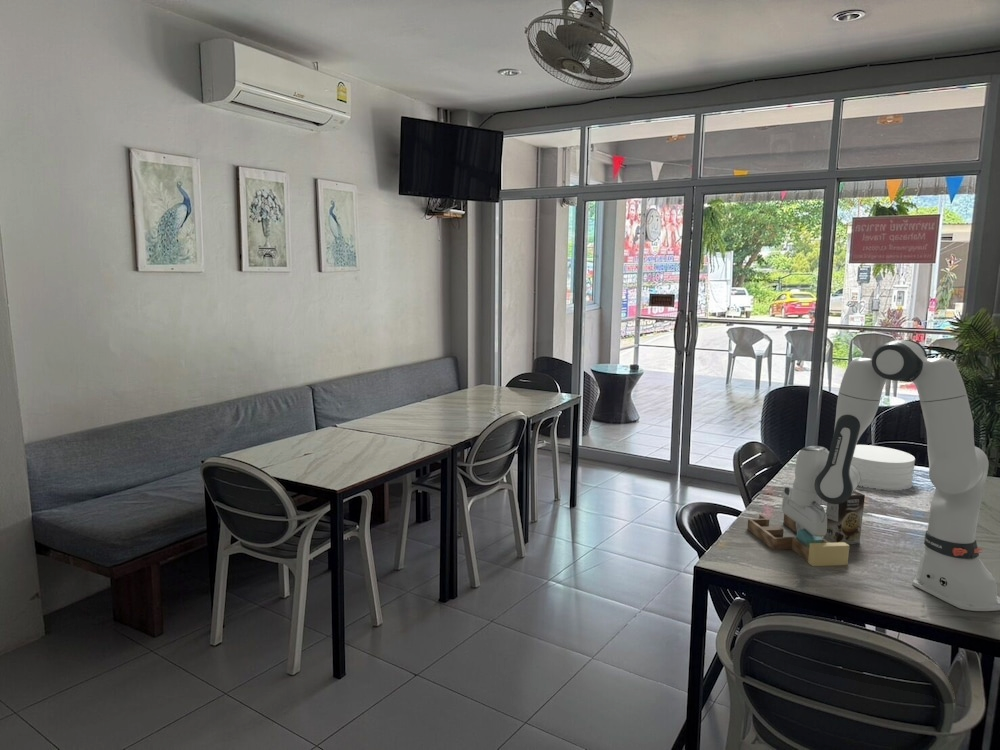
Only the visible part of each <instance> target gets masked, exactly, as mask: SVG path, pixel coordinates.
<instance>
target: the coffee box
mask: <svg viewBox="0 0 1000 750" xmlns="http://www.w3.org/2000/svg"><path fill="white" fill-rule="evenodd" d="M865 497H866V495H865V494H864V493H860V492H858V491H855V490H854V491H853V492H852V494H851V496H850V498H849V499H848V500H847V501H846V502H844V503H841V504H830V503H827V502H826V509H825V512H826V514H827V532H826V535H825V536H823V538H824V539H826V540H827V541H829V542H830V543H837V542H845V543H846V544H848V545H854V544H860V542H861V535H862V534H861V533H862V524H863V515H864V506H865Z"/></svg>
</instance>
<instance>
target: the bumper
mask: <svg viewBox="0 0 1000 750" xmlns="http://www.w3.org/2000/svg"><path fill="white" fill-rule="evenodd" d="M849 552H850V544H846V543H845V542H837V543H831V542H830V543H810V546H809V557H808V561H807V563H808V564H809V565H810V566H812V567H823V566H824V567H826V566H847V565H848V564H849V563H848V562H849V554H850V553H849Z"/></svg>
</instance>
